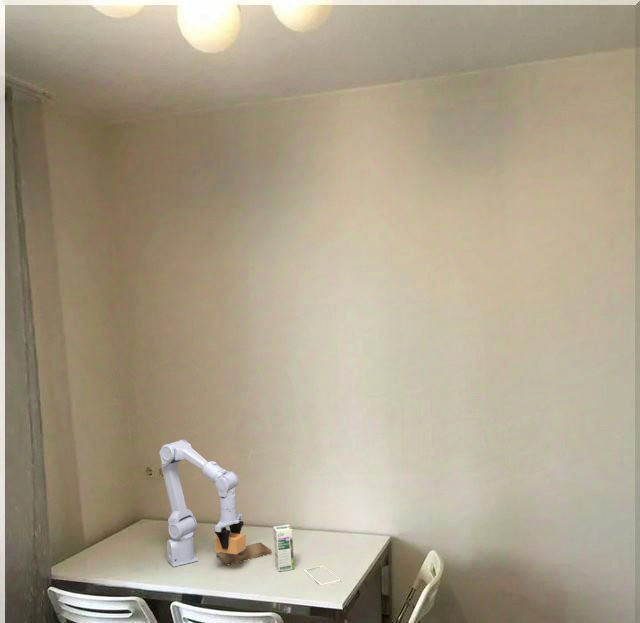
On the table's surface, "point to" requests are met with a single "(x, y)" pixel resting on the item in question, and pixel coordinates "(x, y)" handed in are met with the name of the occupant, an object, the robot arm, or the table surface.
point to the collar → (232, 544)
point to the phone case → (326, 570)
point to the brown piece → (244, 553)
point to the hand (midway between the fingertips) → (230, 545)
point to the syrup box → (283, 547)
